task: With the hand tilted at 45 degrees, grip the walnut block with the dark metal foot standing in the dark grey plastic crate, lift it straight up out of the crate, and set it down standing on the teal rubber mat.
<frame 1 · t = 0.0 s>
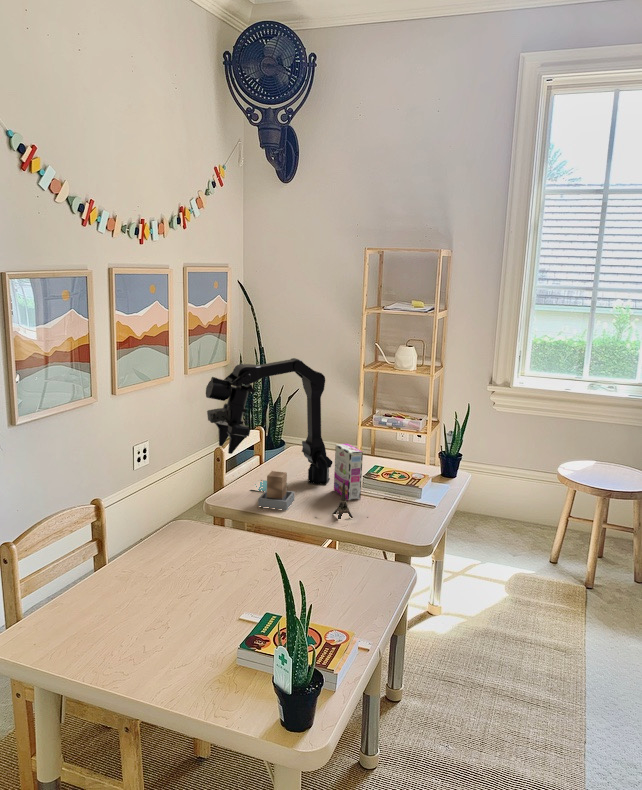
hand: (225, 449, 213), 15 cm above the table, tool pointing down, fingers open, 9 cm apart
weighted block: (276, 504, 210), resting in crate
crate: (276, 503, 210), on the table
eiffel tower figurine: (341, 519, 201), on the table
candy bar box: (347, 495, 220), on the table
mat: (268, 487, 225), on the table
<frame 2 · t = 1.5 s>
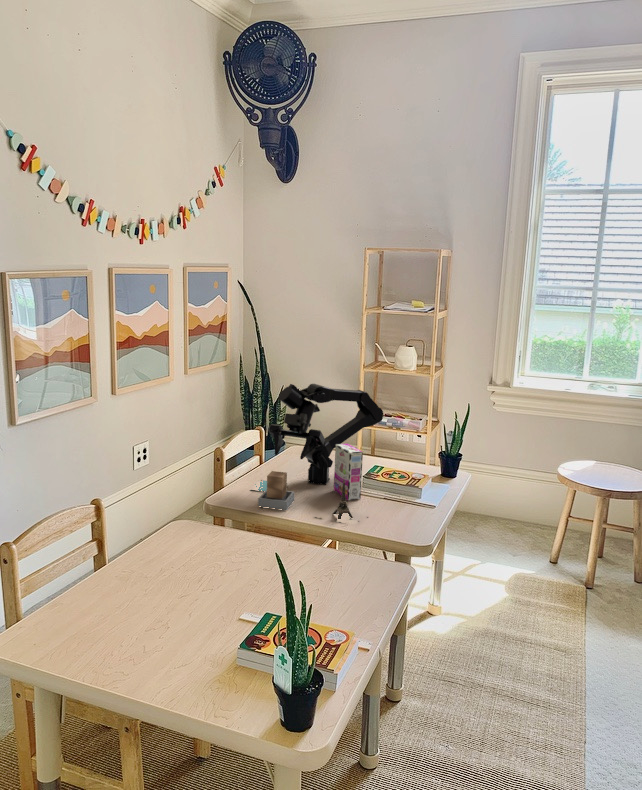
hand: (288, 456, 214), 13 cm above the table, tool tilted 45°, fingers open, 9 cm apart
nothing on the table moved.
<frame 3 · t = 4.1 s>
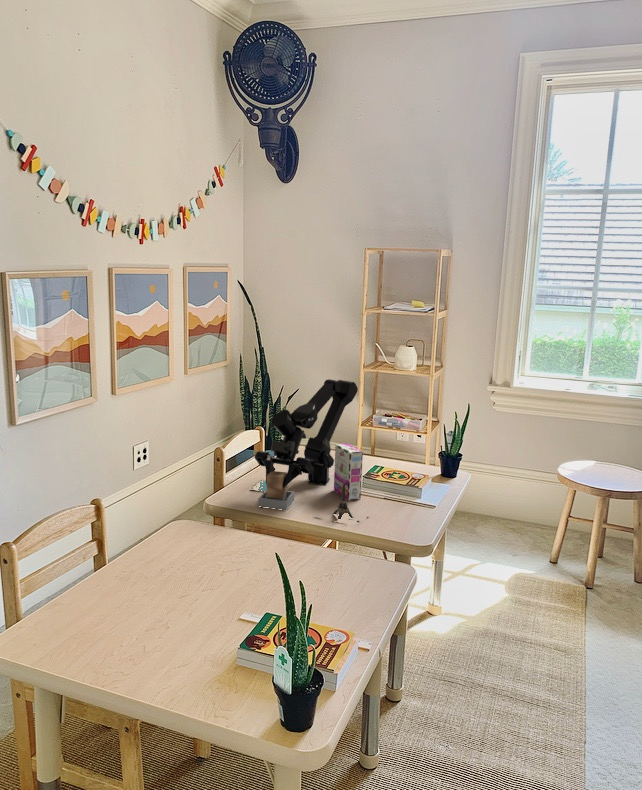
hand: (274, 485, 207), 7 cm above the table, tool tilted 45°, fingers closed on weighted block, 5 cm apart
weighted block: (276, 503, 210), resting in crate, touching gripper
everything else where it was.
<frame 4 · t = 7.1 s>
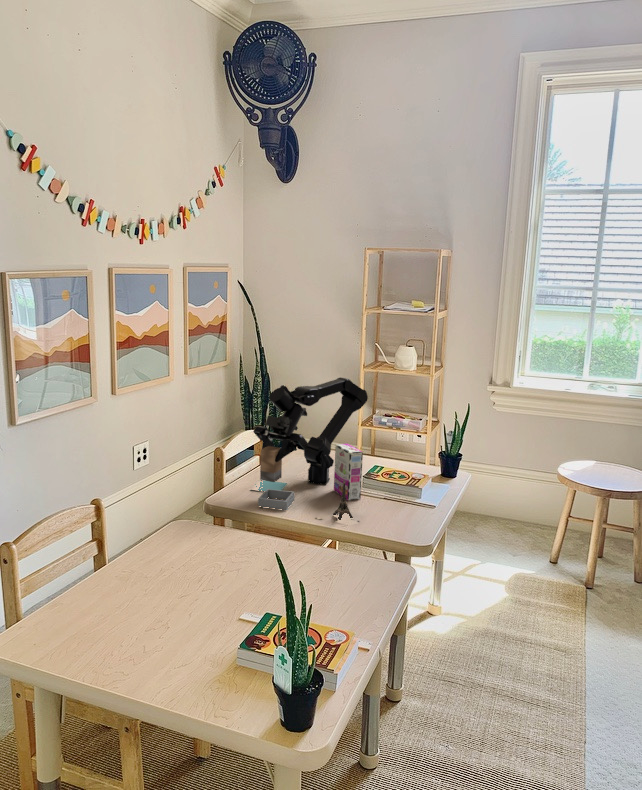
hand: (268, 459, 210), 14 cm above the table, tool tilted 45°, fingers closed on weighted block, 5 cm apart
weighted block: (270, 478, 213), point 7 cm above the table, touching gripper
everything else where it was.
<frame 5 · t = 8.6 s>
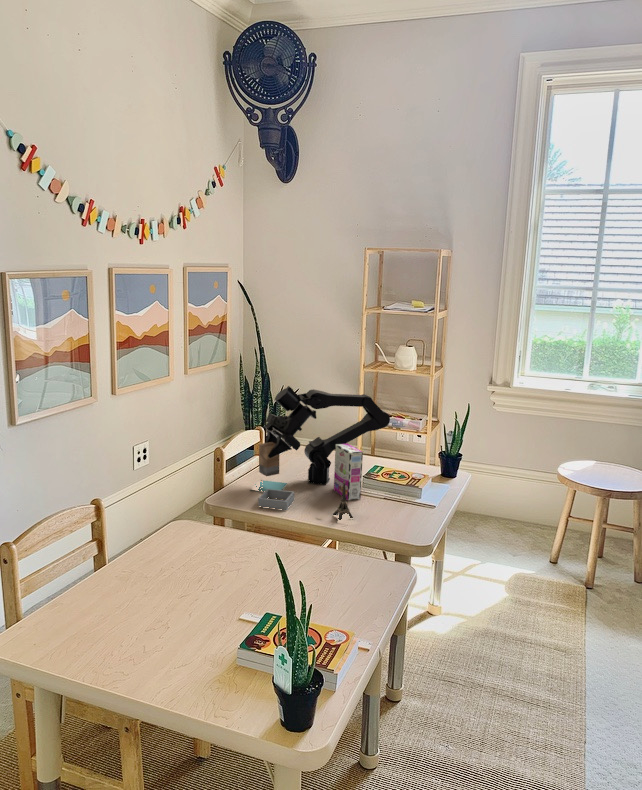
hand: (265, 454, 222), 12 cm above the table, tool tilted 45°, fingers closed on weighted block, 5 cm apart
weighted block: (269, 472, 224), point 5 cm above the table, touching gripper
everything else where it was.
when the fingers open (8 cm above the table, at t = 9.8 s): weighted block stays where it is, resting on mat.
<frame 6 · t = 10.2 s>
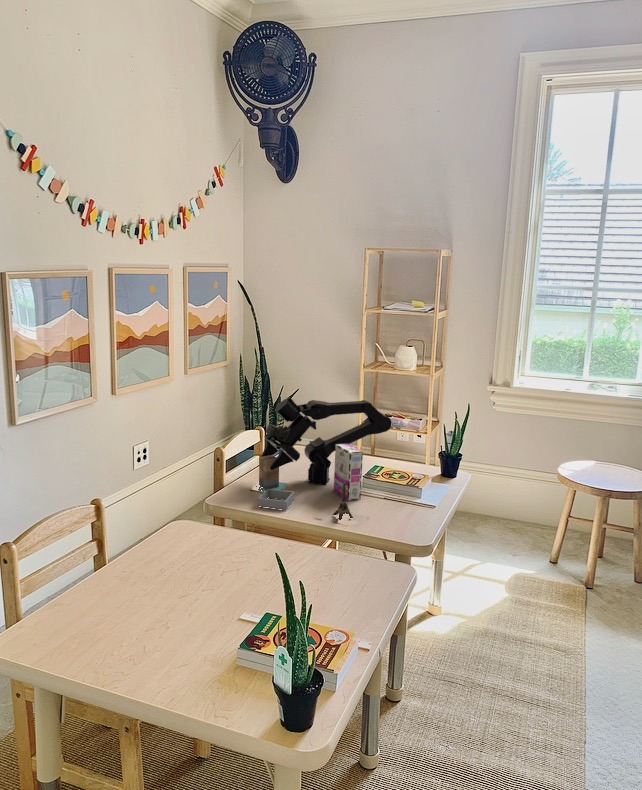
hand: (265, 465, 222), 8 cm above the table, tool tilted 45°, fingers open, 9 cm apart
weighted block: (268, 486, 225), resting on mat
everything else where it was.
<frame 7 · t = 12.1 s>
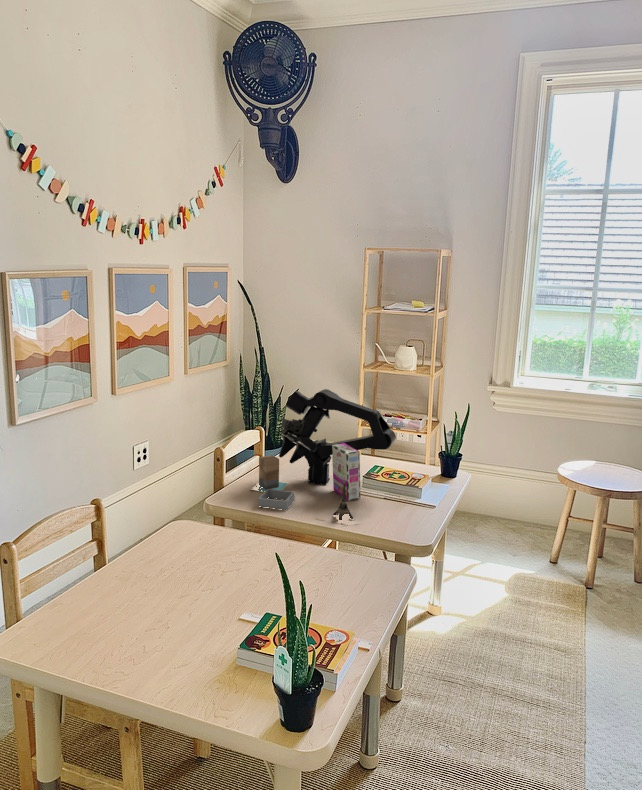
hand: (285, 459, 225), 9 cm above the table, tool tilted 40°, fingers open, 9 cm apart
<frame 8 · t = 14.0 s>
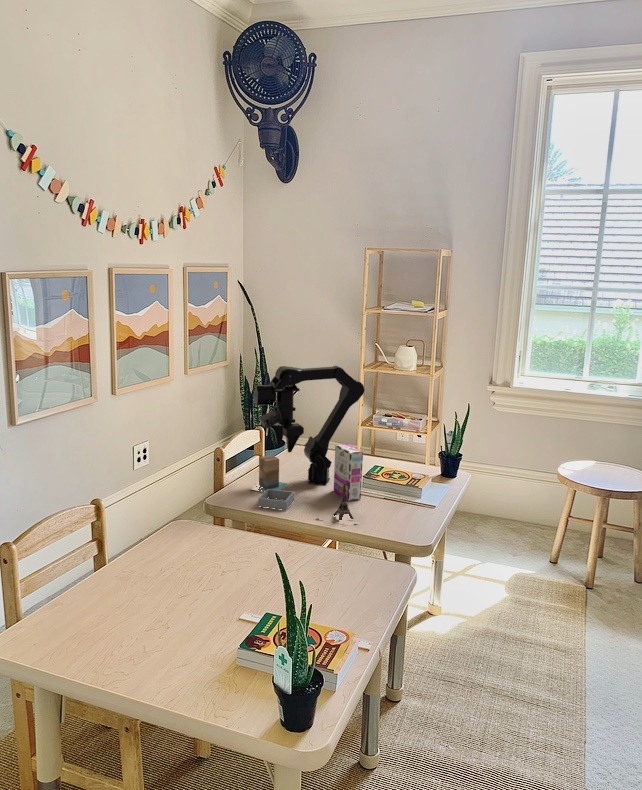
hand: (284, 448, 225), 13 cm above the table, tool pointing down, fingers open, 9 cm apart
at the end: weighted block inside the target area on the mat (0.1 cm from its centre), point 0.4 cm above the mat's base; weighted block tilted 0°; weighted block touching mat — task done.
